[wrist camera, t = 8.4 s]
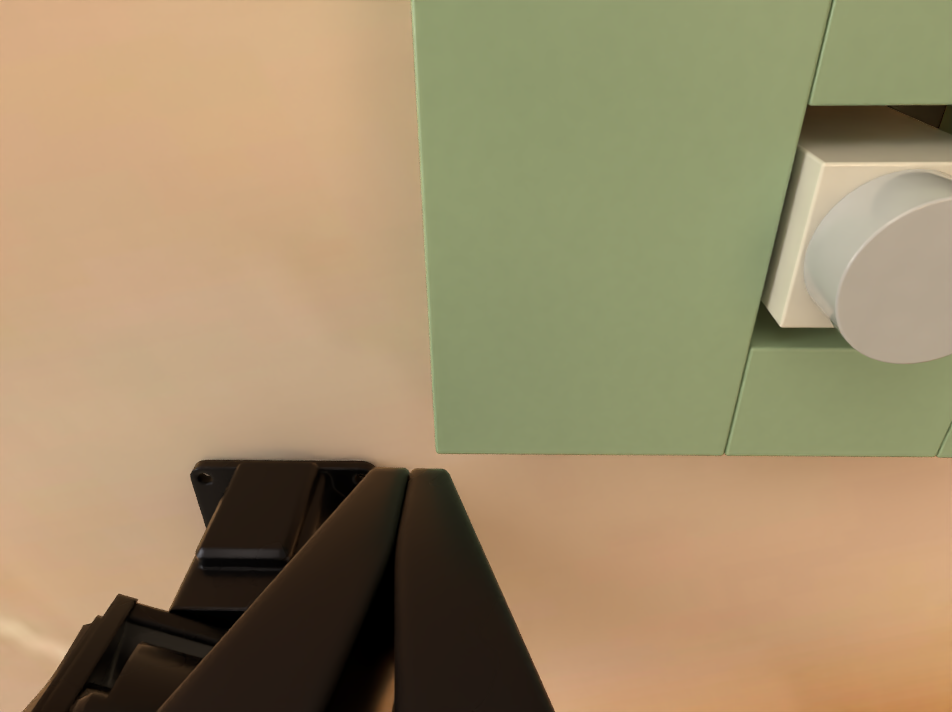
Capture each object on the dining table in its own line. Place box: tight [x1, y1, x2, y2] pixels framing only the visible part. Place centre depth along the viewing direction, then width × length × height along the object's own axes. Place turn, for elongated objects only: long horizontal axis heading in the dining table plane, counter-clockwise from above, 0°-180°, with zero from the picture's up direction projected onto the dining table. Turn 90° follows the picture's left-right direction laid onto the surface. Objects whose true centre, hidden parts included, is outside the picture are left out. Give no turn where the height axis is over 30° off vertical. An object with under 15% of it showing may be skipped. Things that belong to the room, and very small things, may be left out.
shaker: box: [761, 104, 952, 364], centre depth 15 cm, size 7×4×4 cm
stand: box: [411, 0, 952, 458], centre depth 16 cm, size 12×15×4 cm
